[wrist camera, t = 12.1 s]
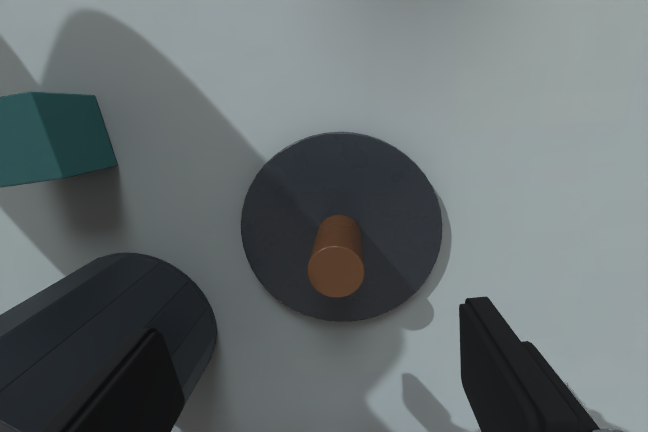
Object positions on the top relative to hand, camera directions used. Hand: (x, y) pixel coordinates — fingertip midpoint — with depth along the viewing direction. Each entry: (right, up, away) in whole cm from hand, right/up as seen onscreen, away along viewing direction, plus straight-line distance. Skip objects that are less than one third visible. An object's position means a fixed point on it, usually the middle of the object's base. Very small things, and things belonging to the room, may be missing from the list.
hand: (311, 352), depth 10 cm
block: (-16, +9, +11) cm, 21 cm away
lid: (+1, +3, +11) cm, 12 cm away
